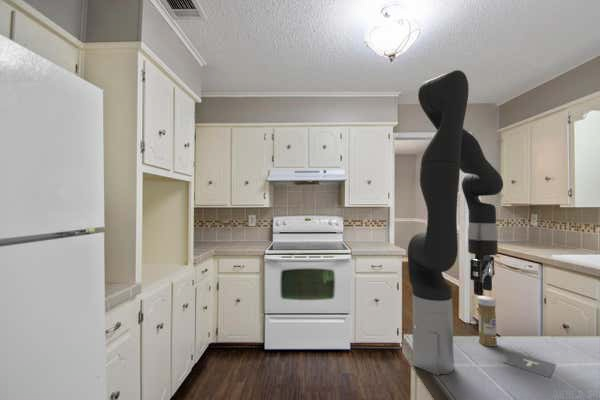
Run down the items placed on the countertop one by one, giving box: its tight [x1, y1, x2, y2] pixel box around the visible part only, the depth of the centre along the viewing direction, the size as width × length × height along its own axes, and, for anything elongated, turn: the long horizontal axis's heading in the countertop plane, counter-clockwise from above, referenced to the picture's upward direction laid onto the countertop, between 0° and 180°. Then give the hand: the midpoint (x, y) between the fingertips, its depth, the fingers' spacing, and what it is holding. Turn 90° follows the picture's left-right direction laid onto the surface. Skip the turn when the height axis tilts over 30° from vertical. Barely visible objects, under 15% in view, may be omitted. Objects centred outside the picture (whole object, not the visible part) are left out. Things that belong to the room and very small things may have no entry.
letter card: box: [503, 351, 557, 379], centre depth 73 cm, size 9×9×1 cm
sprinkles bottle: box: [477, 295, 498, 347], centre depth 84 cm, size 5×5×14 cm
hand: (483, 292), depth 85 cm, fingers open, 8 cm apart
